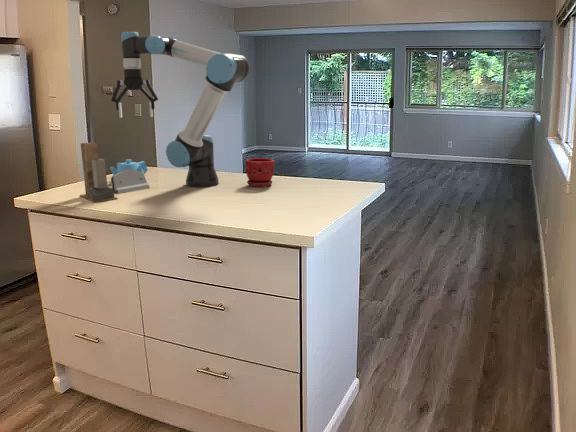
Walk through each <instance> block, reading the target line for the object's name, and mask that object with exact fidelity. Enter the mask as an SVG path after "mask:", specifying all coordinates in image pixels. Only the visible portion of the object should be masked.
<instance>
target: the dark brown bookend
mask: <svg viewBox="0 0 576 432" xmlns="http://www.w3.org/2000/svg"><path fill="white" fill-rule="evenodd" d="M80 151H81V161H82V170H83V181H84V189H85V194H80V195H79V197H81V198H83V199H86V200H88V201H91V202H92V203H93V202H94V203H101V202H108V201H112V200H115V201H116V200H118V197H117V196H115V192H114V191H113V188H112V186H111V187H110V186H108V185H107V188H108V189H101V190H96V189H94V179H93V169H92V159H99V151H98V143H97V142H81V143H80Z"/></svg>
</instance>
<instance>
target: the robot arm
mask: <svg viewBox="0 0 576 432" xmlns="http://www.w3.org/2000/svg"><path fill="white" fill-rule="evenodd" d="M120 37H121V39H120V40H121V41H120V42H121V52H122V62H123V63H122V64H123V68H124V69H123V74H124V77H123V78H124V80H121V79H117V80H116V82H117V83H116V84H117V85H116V87H115V89H114V92H113V95H112V96H111V99H110V100H111V102H114V103H115V107H116V110H117V111H118V112H119V113H118V115H119V116H118V117H119V118H121V119H122V118H123V107H122V102H121V101H122V99H123V98H124V96H125V95H126V93H127V92H128V91H138V90H139V91H141V92H142V93H143V95H145V97H146V98H147V99H148V100H149V102H148V103H149V116H150V118H152V117H154V112H153V110H155V108H156V107H155V102H157V101H159V98H158V96H157V94H156V92H155V90H154V89H153V87H152V86H151V83H150V80H149V79H145V80H143V77H142V74H143V72H142V69H141V68H142V62H141V55H165V56H167V57H171V58H176V59H180V60H182V61H185V62H189V63H192V64H195V65H198V66H201V67H205V71H206V75H205V81H206V83H205V87H204V89H203V91H202V92H201V95H200V96H199V99H198V100H197V102H196V105H195V107H194V109H193V111H192V113H191V115H190V117H189V119H188V121H187V123H186V125H185V128H184V129H183V130H181V131H178V133H177V136H176V137H175V140H172V141H171V142H168V145H167V146H166V148H165V154H166V157H167V160H168V162H169V163H170V164H171V165H172V166H173V167H175V168H185V167H188V171H187V173H186V174H187V175H186V179H185V185H186V186H187V187H192V188H202V187H203V188H204V187H213V186H217V185H219V184H220V183H219V177H218V174H217V172H216V168H215V158H214V157H215V156H214V155H215V154H214V141H213V139H214V138H213V136H212V135H205V134H206V132H207V130H208V128H209V126H210V124H211V122H212V120H213V118H214V116H215V114H216V112H217V110H218V109H219V107H220V105H221V102H222V101H223V99H224V96H225V95H226V94H227V93H230V92H231V91H232V89H233V87H234V85H235V84H236V83H241V82H244V81H245V80H246V79H248V77H249V75H250V72H251V64H250V62H249V60H248V59H247V58H246V57H245V56H244V55H242V54H238V53H237V54H236V53H232V52H231V53H230V52H222V53H221V52H218V51H215V50H212V49H208V48H204V47H202V46H199V45H198V46H197V45H194V44H191V43H188V42H184V41H180V40H177V39H176V38H174V37H165V36H160V35H142V36H140V34H139V32H138V31H124V32H121V36H120ZM123 85H124V86H125V87H124V89H123V90H122V92H120V89H121V87H122V86H123ZM143 85H145V86H147V89H148V91H149V92H150V93H151V95H150V94H149V93H148V91H147V90H145V88H144V87H143ZM119 92H120V94H119ZM118 95H119V96H118Z"/></svg>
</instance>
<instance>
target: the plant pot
mask: <svg viewBox="0 0 576 432" xmlns="http://www.w3.org/2000/svg"><path fill="white" fill-rule="evenodd" d="M265 169H266V170H265ZM274 169H275V160H274V159H272V158H247V159H245V172H246V177H247V179H248V180H247V181H246V182H247V185H249V186H251V187H253V188H256V187H257V188H258V187H259V188H260V187H262V188H263V187H264V186H265V187H269V186H271V185H272V183H273V180H272V179H273V175H274V171H275V170H274Z"/></svg>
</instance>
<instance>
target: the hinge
mask: <svg viewBox="0 0 576 432" xmlns="http://www.w3.org/2000/svg"><path fill="white" fill-rule="evenodd" d="M144 175H145V174H143V172H142V171H137V170H127V171H122V172H119V173H117V174H115V175H112V176H111V177H110V185H111V188H113V191H114V193H117V194H119V195H120V194H125V193H132V192H135V191H143V190H149V189H150V184H149V183H148V182H147V179H146V175H145V176H144Z"/></svg>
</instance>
